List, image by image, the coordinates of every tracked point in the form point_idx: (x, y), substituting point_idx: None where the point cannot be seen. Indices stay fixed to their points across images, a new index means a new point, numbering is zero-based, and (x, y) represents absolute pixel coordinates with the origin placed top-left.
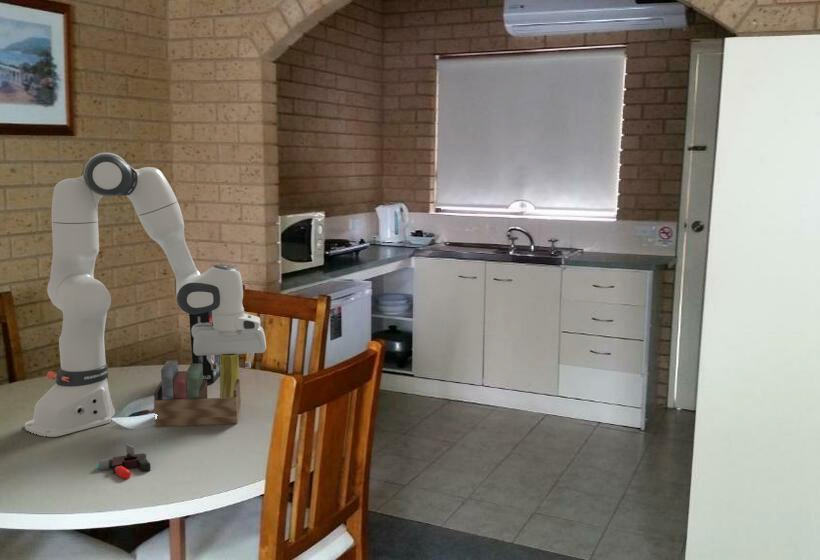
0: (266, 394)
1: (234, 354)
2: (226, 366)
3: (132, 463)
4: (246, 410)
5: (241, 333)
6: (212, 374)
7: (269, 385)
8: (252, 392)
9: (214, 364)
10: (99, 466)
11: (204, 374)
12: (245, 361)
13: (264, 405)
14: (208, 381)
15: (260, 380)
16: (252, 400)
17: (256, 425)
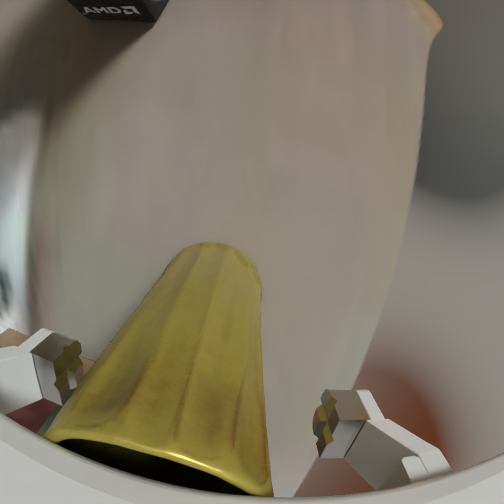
0: (380, 245)
1: (223, 440)
2: (154, 460)
3: None
4: (265, 406)
5: None
6: (142, 2)
7: (406, 121)
8: (326, 194)
9: (51, 398)
10: None
11: (108, 4)
12: (335, 432)
13: (339, 374)
14: (135, 19)
15: (372, 40)
16: (308, 310)
17: (274, 486)
